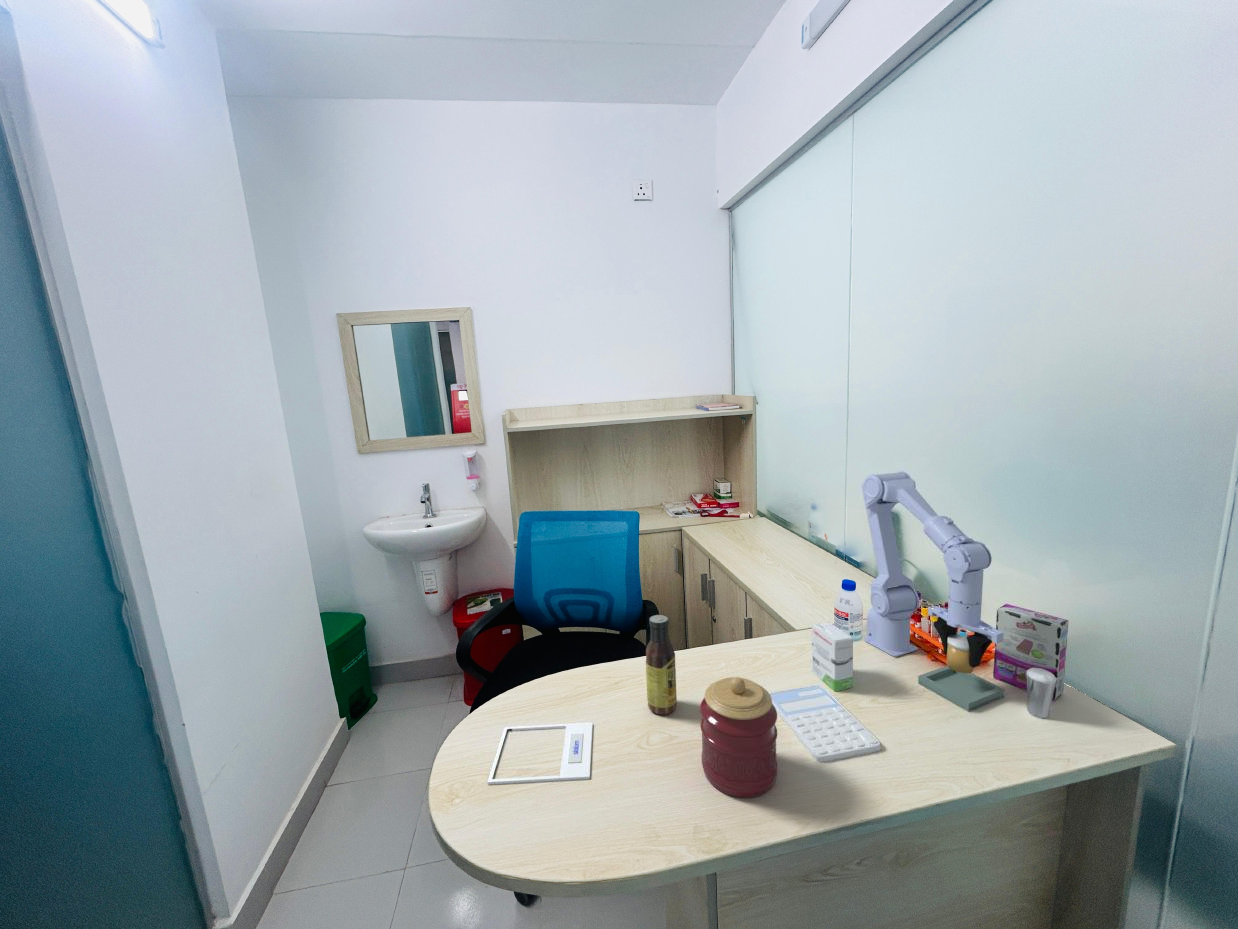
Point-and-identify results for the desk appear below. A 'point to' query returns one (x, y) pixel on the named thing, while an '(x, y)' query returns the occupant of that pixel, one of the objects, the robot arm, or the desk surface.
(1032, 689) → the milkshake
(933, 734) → the desk surface
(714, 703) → the canister
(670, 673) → the sauce bottle
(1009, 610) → the candy bar box
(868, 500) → the robot arm
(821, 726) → the calculator
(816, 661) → the ink box
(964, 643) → the pill bottle
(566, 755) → the photo frame
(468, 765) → the desk surface
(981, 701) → the tray
